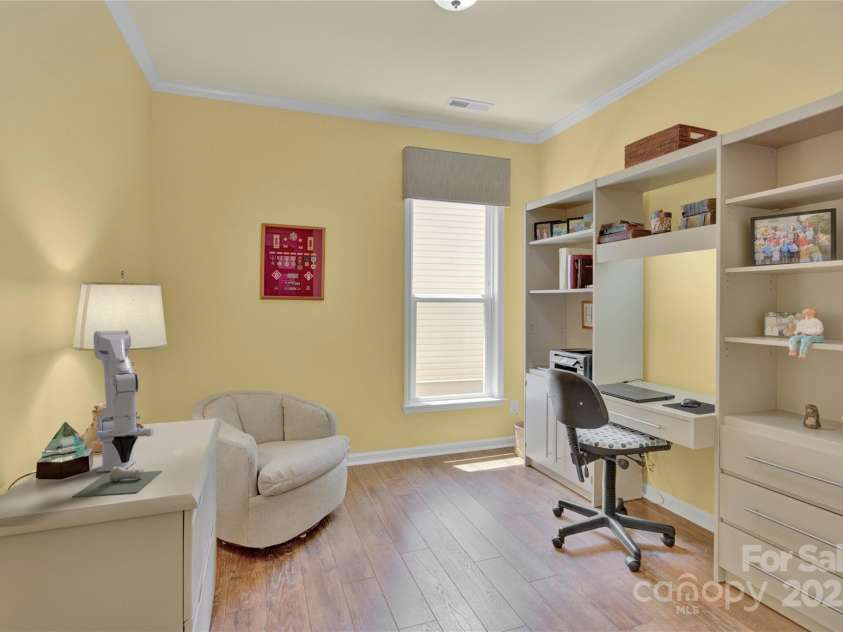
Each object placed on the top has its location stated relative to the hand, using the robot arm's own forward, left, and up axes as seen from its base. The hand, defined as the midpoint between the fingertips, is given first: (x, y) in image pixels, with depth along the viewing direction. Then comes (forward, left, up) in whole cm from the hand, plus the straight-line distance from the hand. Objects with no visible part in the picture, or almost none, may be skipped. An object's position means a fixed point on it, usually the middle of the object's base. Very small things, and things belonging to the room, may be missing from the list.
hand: (125, 461), depth 138 cm
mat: (+1, -1, -6) cm, 6 cm away
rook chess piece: (0, -4, -3) cm, 5 cm away
